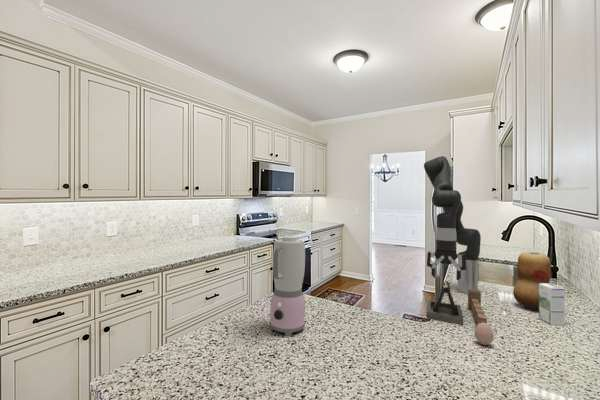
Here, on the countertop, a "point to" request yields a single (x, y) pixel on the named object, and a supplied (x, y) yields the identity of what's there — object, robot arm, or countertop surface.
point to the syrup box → (552, 304)
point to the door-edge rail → (476, 306)
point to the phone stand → (439, 299)
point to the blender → (288, 286)
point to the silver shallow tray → (444, 316)
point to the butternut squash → (531, 278)
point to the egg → (483, 333)
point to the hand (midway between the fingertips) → (445, 278)
